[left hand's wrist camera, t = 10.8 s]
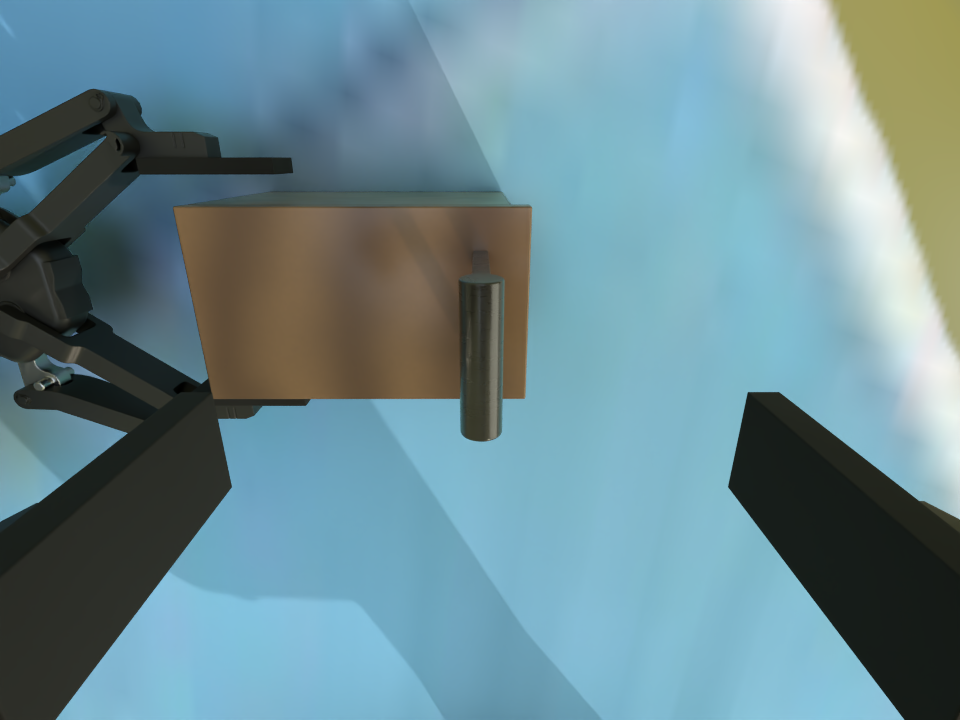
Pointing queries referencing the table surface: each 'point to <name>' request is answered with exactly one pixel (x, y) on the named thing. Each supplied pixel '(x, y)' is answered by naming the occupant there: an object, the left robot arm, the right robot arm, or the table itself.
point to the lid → (363, 302)
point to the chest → (365, 198)
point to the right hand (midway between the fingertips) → (299, 286)
